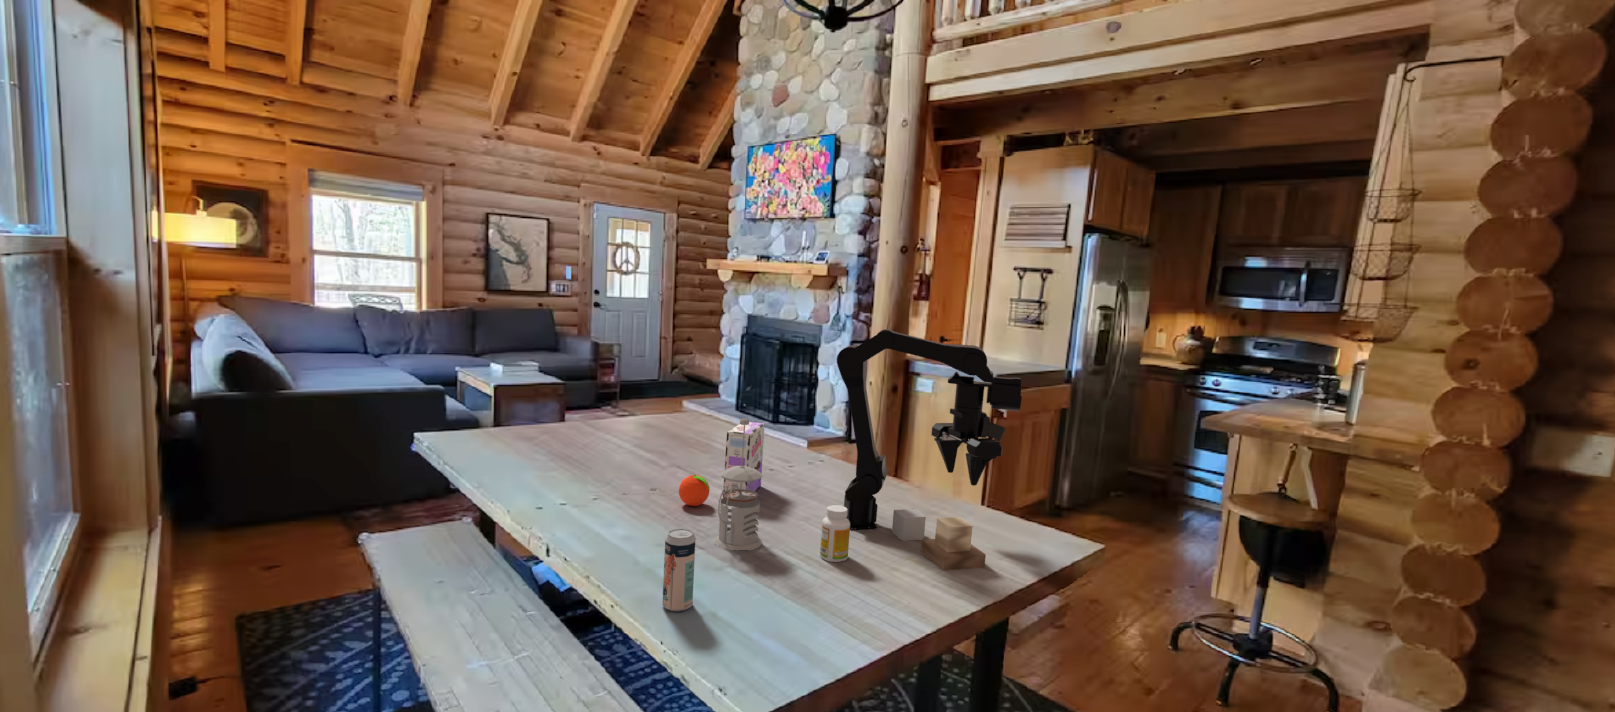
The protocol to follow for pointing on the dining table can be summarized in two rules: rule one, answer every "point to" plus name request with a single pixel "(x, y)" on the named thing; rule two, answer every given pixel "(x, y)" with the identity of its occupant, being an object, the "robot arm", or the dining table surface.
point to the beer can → (679, 570)
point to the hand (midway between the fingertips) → (961, 478)
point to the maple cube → (953, 534)
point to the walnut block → (952, 556)
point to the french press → (739, 509)
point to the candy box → (745, 452)
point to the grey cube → (908, 524)
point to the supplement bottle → (835, 534)
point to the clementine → (694, 490)
